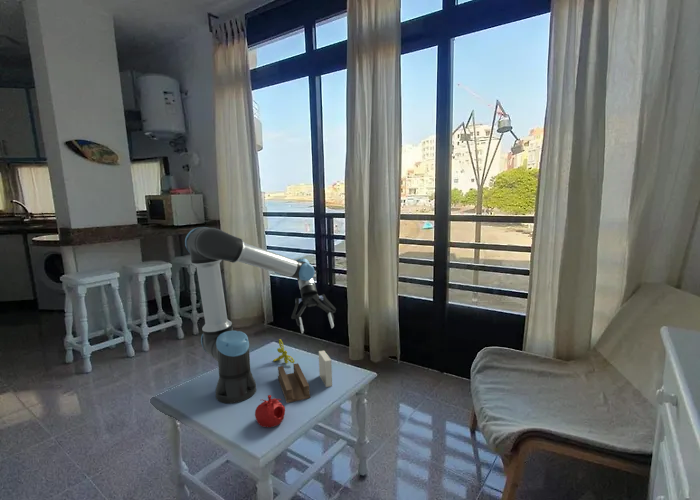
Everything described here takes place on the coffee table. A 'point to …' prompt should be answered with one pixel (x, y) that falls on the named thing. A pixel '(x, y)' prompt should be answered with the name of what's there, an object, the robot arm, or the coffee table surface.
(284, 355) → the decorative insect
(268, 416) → the pomegranate
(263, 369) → the coffee table surface
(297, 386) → the rack
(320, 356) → the cream rectangular block
